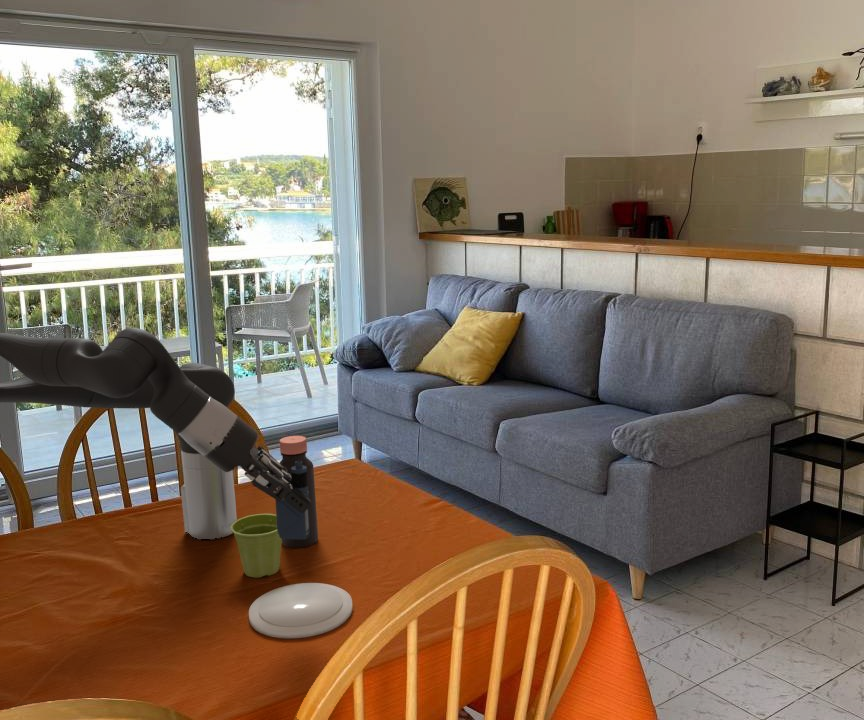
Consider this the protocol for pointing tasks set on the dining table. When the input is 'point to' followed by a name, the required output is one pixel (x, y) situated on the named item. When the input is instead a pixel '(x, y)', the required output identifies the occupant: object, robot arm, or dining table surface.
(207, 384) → the robot arm
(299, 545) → the bottle
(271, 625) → the plate
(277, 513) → the vaping device
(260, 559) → the plant pot
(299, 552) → the dining table surface
